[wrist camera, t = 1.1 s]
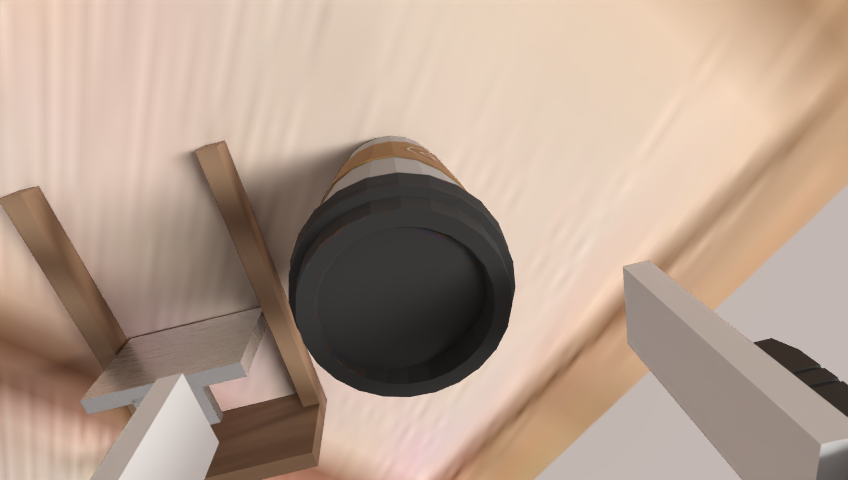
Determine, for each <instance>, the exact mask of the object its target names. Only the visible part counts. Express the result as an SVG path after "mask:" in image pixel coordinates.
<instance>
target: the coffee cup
mask: <svg viewBox="0 0 848 480" xmlns="http://www.w3.org/2000/svg"><path fill="white" fill-rule="evenodd" d="M514 292H515V278H514V267H513V260H512V258H511V255H510V253H509V250H508V246H507V243H506V241H505V238H504V236H503V233H502V231H501V228H500V226H499V223H498V222H497V221H496V219H495V218H494V217H493V216H492V215H491V213H490V212H489V211H488V210H487V208H486V207H485V206H484V205H483V203H482V202H481V201H480V200H478V199H477V198H475V197H474V196H472V195H471V194H470V193H468V192H467V191H466V190H465V189H464V187H463V186H462V185H461V184H460V182H459V181H458V180H457V179H456V178H455V177H454V176H453V175H452V174H451V172H450V171H449V170H448V169H447V168H446V167H445V166H444V165H443V164H442V163H441V162H440V160H439V159H438V158H437V157H436V156H435V155H433V154H432V153H430V152H429V151H428V150H427V149H426V148H424V147H423V146H422V145H420V144H419V143H418V142H415V141H413V140H410V139H407V138H405V137H396V136H386V137H381V138H375V139H373V140H371V141H369V142H367V143H365V144H363V145H362V146H360V147H359V148H358V149H357V150H356V151H355V152H353V153H352V155H351V156H350V158H349V159H348V161H347V162H346V163H345V164H344V165H343V167H342V168H341V170H340V171H339V173H338V174H337V176H336V177H335V179H334V181H333V183H332V184H331V186H330V188H329V189H328V191H327V193H326V194H325V196H324V198H323V199H322V202H321V205H320V206H319V207H318V208H317V209H316V210H315V211H314V212H313V214H312V215H311V216H310V218H309V219H308V221H307V222H306V224H305V225H304V227H303V228H302V230H301V231H300V233H299V234H298V238H297V241H296V244H295V247H294V251H293V254H292V257H291V260H290V271H289V305H290V308H291V311H292V315H293V318H294V321H295V324H296V327H297V329H298V331H299V332H300V334H301V337H302V341H303V343H304V345H305V346H306V347H307V349H308V350H309V352H310V353H311V355H312V356H313V358H314V359H315V361H316V362H317V363H318V364H319V365H320V366H321V367H322V368H323V369H325V370H326V371H327V372H328V373H329V374H331V375H332V376H333V377H334V378H335V379H337V380H339V381H341V382H343V383H345V384H347V385H349V386H351V387H353V388H355V389H357V390H359V391H363V392H367V393H372V394H376V395H380V396H389V397H412V396H417V395H423V394H428V393H433V392H437V391H439V390H442V389H444V388H446V387H449V386H451V385H454V384H456V383H458V382H460V381H461V380H463V379H464V378H466V377H467V376H469V375H470V374H471V373H473V372H474V371H476V370H477V369H479V368H480V367H481V366H482V365H483V363H484V362H485V361H486V360H487V359H488V358H489V357H490V356H491V355H492V353H493V352H494V351H495V350H496V349H497V347H498V345H499V343H500V341H501V339H502V337H503V335H504V333H505V331H506V329H507V327H508V322H509V317H510V313H511V308H512V302H513V297H514Z"/></svg>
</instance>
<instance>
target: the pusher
mask: <svg viewBox="0 0 848 480" xmlns="http://www.w3.org/2000/svg"><path fill="white" fill-rule="evenodd" d="M266 325H267V320H266V317H265V315H264V313H263V310H262V308H261V307H259V308H255V309H251V310H247V311H243V312H239V313H235V314H230V315H226V316H222V317H218V318H214V319H210V320H206V321H202V322H197V323H193V324H189V325H185V326H181V327H177V328H173V329H169V330H164V331H160V332H156V333H152V334H148V335H144V336H140V337H136V338H131V339H130V340H129V341H128V343H127V344H126V345H125V346H124V348H123V349H122V350H121V351H120V352H119V354H118V355H117V356H116V357H115V358H114V360H113V361H112V362H111V363H110V365H109V366H108V367H107V368H106V369H105V371H104V372H103V373H102V374H101V375H100V377H99V378H98V379H97V380H96V382H95V383H94V384H93V385H92V386H91V388H90V389H89V390H88V391H87V392H86V394H85V395H84V396H83V397H82V399H81V400H80V403H81V404H82V406H83V407H84V409H85V410H86V412H87V413H88V414H92V413H96V412H101V411H105V410H109V409H113V408H117V407H121V406H125V405H129V404H134V406H135V408H136V409H137V408H138V407H139V405H140V404H141V402H142V401H143V399H144V398H145V396H146V395H147V393H148V392H149V390H150V389H151V387H152V386H153V384H154V383H155V381H156V380H157V379H160V378H164V377H168V376H172V375H176V374H180V373H183V375H184V377H185V379H186V381H187V383H188V384H189V386H190V388H191V390H192V392H193V394H194V396H195V398H196V400H197V402H198V403H199V405H200V407H201V409H202V411H203V413H204V415H205V417H206V419H207V420H208V422H209V424H210V425H211V424H215V423H219V422H221V420H222V417H223V413H222V411H221V409H220V407H219V405H218V403H217V401H216V399H215V397H214V395H213V394H212V392H211V390H210V388H209V386H208V385H212V384H216V383H220V382H224V381H229V380H233V379H237V378H241V377H245V376H247V374H248V371H249V369H250V366H251V364H252V361H253V358H254V356H255V353H256V351H257V348H258V345H259V343H260V340H261V338H262V335H263V333H264V330H265V327H266Z"/></svg>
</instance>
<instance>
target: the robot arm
mask: <svg viewBox="0 0 848 480" xmlns="http://www.w3.org/2000/svg"><path fill="white" fill-rule="evenodd" d="M623 276H624V292H625V308H626V324H627V340H628V345H629V346H630V347H631V348H632V349H633V351H634V352H635V353H636V354H637V355H638V357H639V358H640V359H641V360H642V361H643V363H644V364H645V365H646V366H647V367H648V368H649V370H650V371H651V372H652V373H653V374H654V375H655V377H656V378H657V379H658V380H659V382H660V383H661V384H662V385H663V386H664V387H665V389H666V390H667V391H668V392H669V393H670V395H671V396H672V397H673V398H674V399H675V401H676V402H677V403H678V404H679V405H680V407H681V408H682V409H683V410H684V411H685V413H686V414H687V415H688V416H689V417H690V418H691V420H692V421H693V422H694V423H695V424H696V426H697V427H698V428H699V429H700V430H701V432H702V433H703V434H704V435H705V436H706V437H707V439H708V440H709V441H710V442H711V443H712V444H713V446H714V447H715V448H716V449H717V451H718V452H719V453H720V454H721V455H722V457H724V459H725V460H726V461H727V463H728V464H729V465H730V466H731V467H732V468H733V470H734V471H735V472H736V473H737V474H738V476H739V477H740V478H741V479H742V480H848V385H847V384H846V383H845V382H843V381H842V382H840V381H839V379H838V377H836V376H835V375H833V374H832V373H831V372H829V371H828V370H827V369H825V368H821V367H820V364H818V363H817V362H815V361H814V360H813V359H811V358H810V357H808V356H807V355H806V354H804V353H803V352H802V351H800V350H799V349H796V348H794V347H792V346H789V345H787V344H784V343H782V342H779V341H777V340H774V339H772V338H770V339H766V340H762V341H758V342H754V343H753V342H752V341H750V340H749V339H748V338H746V337H745V336H744V335H742V334H741V333H740V332H739V331H738V330H736V329H735V328H734V327H733V326H731V325H730V324H729V323H727V322H726V321H725V320H723V319H722V318H721V317H720V316H719V315H717V314H716V313H715V312H714V311H712V310H711V309H710V308H708V307H707V306H706V305H705V304H703V303H702V302H701V301H700V300H698V299H697V298H696V297H695V296H693V295H692V294H691V293H689V292H688V291H687V290H686V289H684V288H683V287H682V286H681V285H679V284H678V283H677V282H676V281H674V280H673V279H672V278H670V277H669V276H668V275H667V274H665V273H664V272H663V271H662V270H660V269H659V268H658V267H657V266H655V265H654V264H653V263H651V262H650V261H649V260H648V261H644V262H640V263H635V264H631V265H627V266H623ZM218 444H219V441H218V439H217V437H216V436H215V434H214V432H213V430H212V428H211V426H210V424H209V422H208V420H207V419H206V417H205V415H204V413H203V411H202V409H201V407H200V405H199V403H198V402H197V400H196V398H195V396H194V394H193V392H192V390H191V388H190V386H189V384H188V383H187V381H186V379H185V377H184V375H183V373H180V374H176V375H172V376H168V377H164V378H160V379H157V380H156V381H155V383H154V384H153V386H152V387H151V389H150V390H149V392H148V393H147V395H146V396H145V398H144V399H143V401H142V402H141V404H140V405H139V407H138V408H137V410H136V411H135V413H134V414H133V416H132V417H131V419H130V420H129V422H128V423H127V425H126V426H125V428H124V429H123V431H122V432H121V434H120V435H119V437H118V438H117V440H116V441H115V443H114V444H113V446H112V447H111V449H110V450H109V452H108V453H107V455H106V456H105V458H104V459H103V461H102V462H101V464H100V465H99V467H98V468H97V470H96V471H95V473H94V474H93V476H92V477H91V479H90V480H204V479H205V476H206V474H207V471H208V469H209V466H210V464H211V461H212V459H213V456H214V454H215V451H216V449H217V446H218Z"/></svg>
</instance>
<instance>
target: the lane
mask: <svg viewBox="0 0 848 480" xmlns="http://www.w3.org/2000/svg"><path fill="white" fill-rule="evenodd" d="M195 152H196V155H197V157H198V159H199V162H200V164H201V166H202V169H203V171H204V173H205V176H206V178H207V181H208V183H209V185H210V188H211V190H212V192H213V195H214V197H215V199H216V202H217V204H218V207H219V209H220V211H221V214H222V216H223V218H224V221H225V223H226V225H227V228H228V230H229V232H230V235H231V237H232V240H233V242H234V244H235V247H236V249H237V251H238V254H239V256H240V258H241V261H242V263H243V266H244V268H245V270H246V273H247V275H248V277H249V280H250V282H251V284H252V287H253V289H254V292H255V294H256V296H257V299H258V301H259V303H260V306H261V308H262V310H263V313H264V315H265V317H266V320H267V322H268V325H269V327H270V329H271V332H272V334H273V336H274V339H275V341H276V343H277V346H278V348H279V351H280V353H281V355H282V358H283V360H284V362H285V365H286V367H287V369H288V372H289V374H290V376H291V379H292V381H293V384H294V386H295V388H296V391H297V393H298V394H295V395H290V396H286V397H282V398H278V399H274V400H270V401H266V402H261V403H257V404H253V405H249V406H245V407H241V408H237V409H233V410H228V411H224V412H222V413H223V417H222V420H221V422H219V423H215V424H211V425H210V426H211V428H212V430H213V432H214V434H215V436H216V437H217V439H218V441H219V444H218V446H217V449H216V451H215V454H214V456H213V459H212V461H211V464H210V466H209V469H208V471H207V474H206V476H205V479H204V480H262V479H266V478H270V477H274V476H278V475H282V474H287V473H291V472H295V471H299V470H303V469H307V468H311V467H316V466H318V462H319V455H320V447H321V440H322V433H323V426H324V418H325V411H326V404H327V399H326V396H325V394H324V391H323V389H322V386H321V384H320V381H319V379H318V376H317V373H316V371H315V368H314V366H313V363H312V361H311V358H310V356H309V353H308V351H307V348H306V346H305V345H304V343H303V341H302V337H301V334H300V332H299V331H298V329H297V327H296V324H295V321H294V318H293V315H292V311H291V308H290V305H289V302H288V300H287V297H286V295H285V292H284V290H283V287H282V285H281V282H280V280H279V277H278V274H277V272H276V269H275V267H274V264H273V262H272V259H271V257H270V254H269V252H268V249H267V247H266V244H265V242H264V239H263V236H262V234H261V231H260V229H259V226H258V224H257V221H256V219H255V216H254V214H253V211H252V209H251V206H250V203H249V201H248V198H247V196H246V193H245V191H244V188H243V186H242V183H241V181H240V178H239V176H238V173H237V170H236V168H235V165H234V163H233V160H232V158H231V155H230V153H229V150H228V148H227V145H226V143H225V141H222V142H218V143H214V144H209V145H205V146H203V147H202V148H200V149H198V150H197V151H195ZM0 203H1V204H2V206H3V207H4V209H5V211H6V212H7V214H8V216H9V217H10V219H11V220H12V222H13V224H14V225H15V227H16V228H17V230H18V232H19V233H20V235H21V236H22V238H23V240H24V241H25V243H26V245H27V246H28V248H29V249H30V251H31V253H32V254H33V256H34V257H35V259H36V261H37V262H38V264H39V265H40V267H41V269H42V270H43V272H44V274H45V275H46V277H47V278H48V280H49V282H50V283H51V285H52V286H53V288H54V290H55V291H56V293H57V294H58V296H59V298H60V299H61V301H62V302H63V304H64V306H65V307H66V309H67V311H68V312H69V314H70V315H71V317H72V319H73V320H74V322H75V323H76V325H77V327H78V328H79V330H80V331H81V333H82V335H83V336H84V338H85V340H86V341H87V343H88V344H89V346H90V348H91V349H92V351H93V352H94V354H95V356H96V357H97V359H98V360H99V362H100V364H101V365H102V367H103V368H104V370H105V369H106V368H107V367H108V366H109V365H110V363H111V362H112V361H113V360H114V358H115V357H116V356H117V355H118V354H119V352H120V351H121V350H122V349H123V348H124V346H125V345H126V344H127V343H128V340H127V338H126V337H125V335H124V333H123V331H122V330H121V328H120V326H119V325H118V323H117V321H116V319H115V318H114V316H113V314H112V312H111V311H110V309H109V307H108V306H107V304H106V302H105V300H104V299H103V297H102V295H101V293H100V292H99V290H98V288H97V286H96V285H95V283H94V281H93V280H92V278H91V276H90V274H89V273H88V271H87V269H86V267H85V266H84V264H83V262H82V261H81V259H80V257H79V255H78V254H77V252H76V250H75V248H74V247H73V245H72V243H71V241H70V240H69V238H68V236H67V235H66V233H65V231H64V229H63V228H62V226H61V224H60V222H59V221H58V219H57V217H56V216H55V214H54V212H53V210H52V209H51V207H50V205H49V203H48V202H47V200H46V198H45V196H44V195H43V193H42V191H41V190H40V188H39V186H36V187H32V188H28V189H24V190H20V191H17V192H15V193H12V194H10V195H7V196H5V197H3V198H0ZM126 406H127V407H128V409H129V410H130V412H131V414H132V415H133V414H134V413H135V411H136V410H137V409H136V408H135V406H134V404H129V405H126Z"/></svg>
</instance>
